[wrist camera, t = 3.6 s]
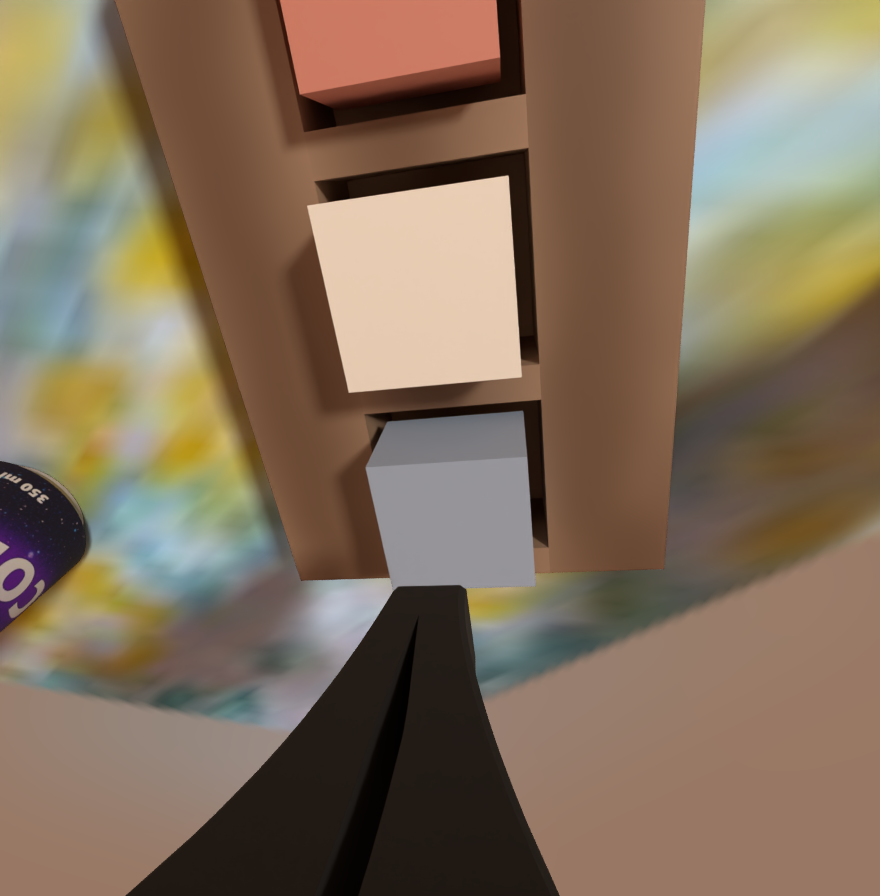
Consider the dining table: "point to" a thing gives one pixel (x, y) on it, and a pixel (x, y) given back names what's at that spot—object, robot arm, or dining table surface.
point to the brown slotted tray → (534, 244)
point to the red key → (390, 48)
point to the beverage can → (34, 537)
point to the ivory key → (422, 285)
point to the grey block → (454, 501)
